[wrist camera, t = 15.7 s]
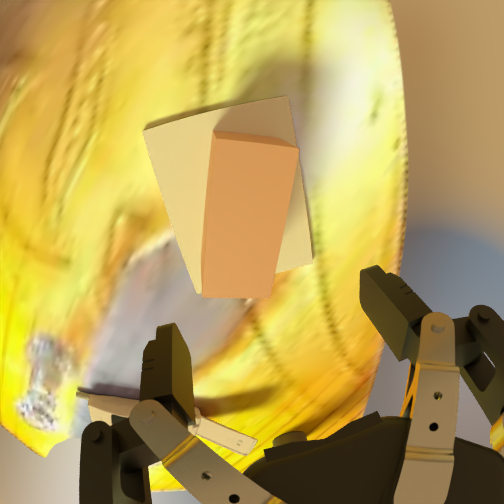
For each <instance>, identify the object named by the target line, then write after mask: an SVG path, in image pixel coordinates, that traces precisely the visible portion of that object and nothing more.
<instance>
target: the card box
mask: <svg viewBox="0 0 504 504" xmlns="http://www.w3.org/2000/svg"><path fill="white" fill-rule="evenodd" d="M298 155H299V148H297V147H295V146H293V145H292V144H290V143H288V142H286V141H284V140H282V139H280V138H276V137H269V136H261V135H253V134H244V133H235V132H225V131H212V140H211V149H210V158H209V167H208V177H207V187H206V198H205V209H204V221H203V234H202V248H201V283H202V297H212V298H270V296H271V291H272V286H273V282H274V277H275V272H276V267H277V262H278V258H279V253H280V248H281V243H282V238H283V233H284V228H285V223H286V218H287V213H288V208H289V203H290V197H291V192H292V187H293V182H294V176H295V171H296V166H297V160H298Z"/></svg>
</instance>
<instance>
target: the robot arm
mask: <svg viewBox="0 0 504 504" xmlns="http://www.w3.org/2000/svg"><path fill="white" fill-rule="evenodd" d="M359 297H360V303H361V306H362V309H363V310H364V312H365V313H366V315H367V316H368V317H369V319H370V320H371V322H372V323H373V324H374V326H375V327H376V329H377V330H378V332H379V333H380V334H381V336H382V337H383V339H384V340H385V342H386V343H387V345H388V346H389V347H390V349H391V350H392V351H393V353H394V355H395V356H396V358H397V359H398V361H399V362H400V361H402V360H404V359H407V358H408V359H409V360H410V366H409V373H408V379H407V385H406V391H405V397H404V402H403V406H402V409H401V412H400V416H399V417H398V416H386V417H380V415H379V413H378V412H377V411H376V412H374V413H372V414H369V415H367V416H364V417H362V418H359V419H357V420H355V421H352V422H350V423H349V424H347V425H346V426H344V427H343V428H341V429H340V430H338V431H337V432H335V433H334V434H332V435H330V436H329V437H327V438H325V439H320V440H310V441H297V442H290V443H287V444H283V445H279V446H276V447H272V448H268V449H264V454H265V456H264V457H262V458H261V459H259V460H257V461H256V462H254V463H253V464H252V465H250V466H249V467H248V468H247V469H246V470H245V471H244V472H243V474H242V473H241V472H239V471H238V470H237V469H235V468H234V467H233V466H231V465H230V464H229V463H228V462H226V461H225V460H224V459H223V458H221V457H220V456H219V455H218V454H216V453H215V452H214V451H213V450H212V449H210V448H209V447H208V446H207V445H206V444H205V443H203V442H202V441H201V440H200V439H199V438H197V437H196V436H194V435H193V434H192V433H190V432H189V431H188V426H191V425H196V419H195V407H194V395H193V381H192V365H191V356H190V352H189V349H188V347H187V345H186V343H185V341H184V339H183V337H182V335H181V333H180V331H179V329H178V327H177V325H176V324H175V323H171V324H166V325H162V326H158V327H157V330H156V340H152V341H149V342H148V344H147V346H146V347H145V349H144V351H143V363H142V372H141V385H140V399H139V403H138V404H136V405H135V406H134V407H133V409H132V410H131V412H130V416H129V417H128V418H127V419H125V420H122V421H120V422H118V423H115V424H113V425H111V426H109V425H108V424H107V423H106V422H104V421H94V422H92V423H90V424H89V425H88V426H87V427H86V428H85V429H84V431H83V433H82V439H81V454H80V478H79V504H152V499H151V491H150V482H149V471H148V466H149V465H152V464H154V463H156V462H159V461H162V464H163V466H164V467H165V468H166V469H167V470H168V471H169V472H170V474H171V475H172V476H173V477H174V478H175V479H176V480H177V481H178V482H179V483H180V484H181V485H182V486H183V487H184V488H185V489H187V490H188V491H189V492H190V493H191V494H192V495H193V496H194V497H195V498H196V499H197V500H198V501H199V502H201V503H202V504H504V321H503V320H502V319H501V318H500V316H499V315H498V314H497V313H496V312H495V311H494V310H493V309H492V308H490V307H488V306H485V305H477V306H474V307H473V308H472V309H471V311H470V313H469V316H468V317H463V318H457V319H451V318H450V317H449V316H448V315H446V314H444V313H440V312H432V310H431V309H429V307H428V306H427V305H426V304H425V303H424V302H423V301H422V300H421V299H420V298H419V297H418V295H417V294H416V293H415V292H413V290H412V289H411V288H410V287H409V286H407V284H406V283H405V282H404V281H403V280H402V279H401V278H400V277H399V276H397V275H395V274H393V273H391V272H390V273H387V274H386V273H385V272H384V271H383V270H382V269H381V268H380V267H379V266H378V265H374V266H371V267H368V268H365V269H362V270H361V271H360V296H359ZM484 352H485V353H486V354H487V355H488V357H489V358H490V360H491V361H492V362H493V364H494V365H495V368H494V367H493V365H492V364H491V362H490V361H489V360H488V358H487V357H486V356H485V354H484ZM460 374H461V376H462V378H463V379H464V381H465V382H466V384H467V385H468V387H469V389H470V390H471V392H472V393H473V395H474V396H475V398H476V400H477V401H478V403H479V405H480V406H481V408H482V410H483V411H484V413H485V415H486V416H487V418H488V420H489V422H490V423H491V425H492V427H491V430H490V437H491V439H490V444H491V446H493V449H491V448H488V447H484V446H482V445H479V444H475V443H472V442H470V441H466V440H464V439H461V438H457V437H455V432H456V423H457V412H458V399H459V377H460Z"/></svg>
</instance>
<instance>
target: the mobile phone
mask: <svg viewBox="0 0 504 504" xmlns="http://www.w3.org/2000/svg"><path fill="white" fill-rule="evenodd" d="M76 397H79V398H83V399H86V400H89V401H88V407H89V411H90V415H91V419H92V421H93V422H94V421H104V422H106V423H107V424H108V425H109V426H111V425H113V424H115V423H118V422H120V421H122V420H125V419H127V418H128V417H129V416H130V412H131V410H132V409H133V407H134V406H135V405H136V404H138V403H139V400H134V399H127V398H121V397H115V396H106V395H94V394H88V393H82V392H76ZM195 419H196V425H191V426H188V431H189V432H190V433H192V434H193V435H194V436H195V435H198V436H200V437H202V438H204V439H207V440H209V441H211V442H213V443H215V444H217V445H220V446H222V447H224V448H227V449H229V450H231V451H232V452H235V453H237V454H241V455H244V456H246V455H248V454H249V452H250V451H251V450H252V449H253V448H254V446H255V445H256V443H257V441H258V440H257V439H255V438H253V437H250V436H248V435H245V434H243V433H241V432H238V431H236V430H234V429H231V428H229V427H226V426H224V425H222V424H219V423H217V422H215V421H213V420H210V419H208V418H206V417H204V416H201V414H200V410H199V408H198V407H195Z"/></svg>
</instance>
